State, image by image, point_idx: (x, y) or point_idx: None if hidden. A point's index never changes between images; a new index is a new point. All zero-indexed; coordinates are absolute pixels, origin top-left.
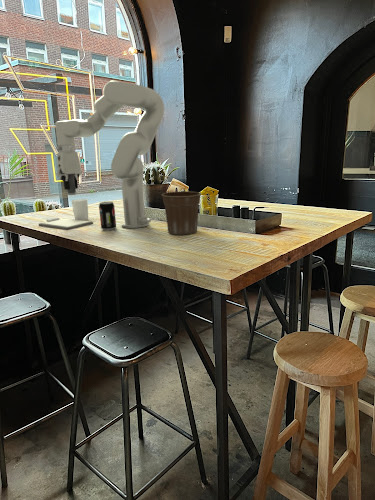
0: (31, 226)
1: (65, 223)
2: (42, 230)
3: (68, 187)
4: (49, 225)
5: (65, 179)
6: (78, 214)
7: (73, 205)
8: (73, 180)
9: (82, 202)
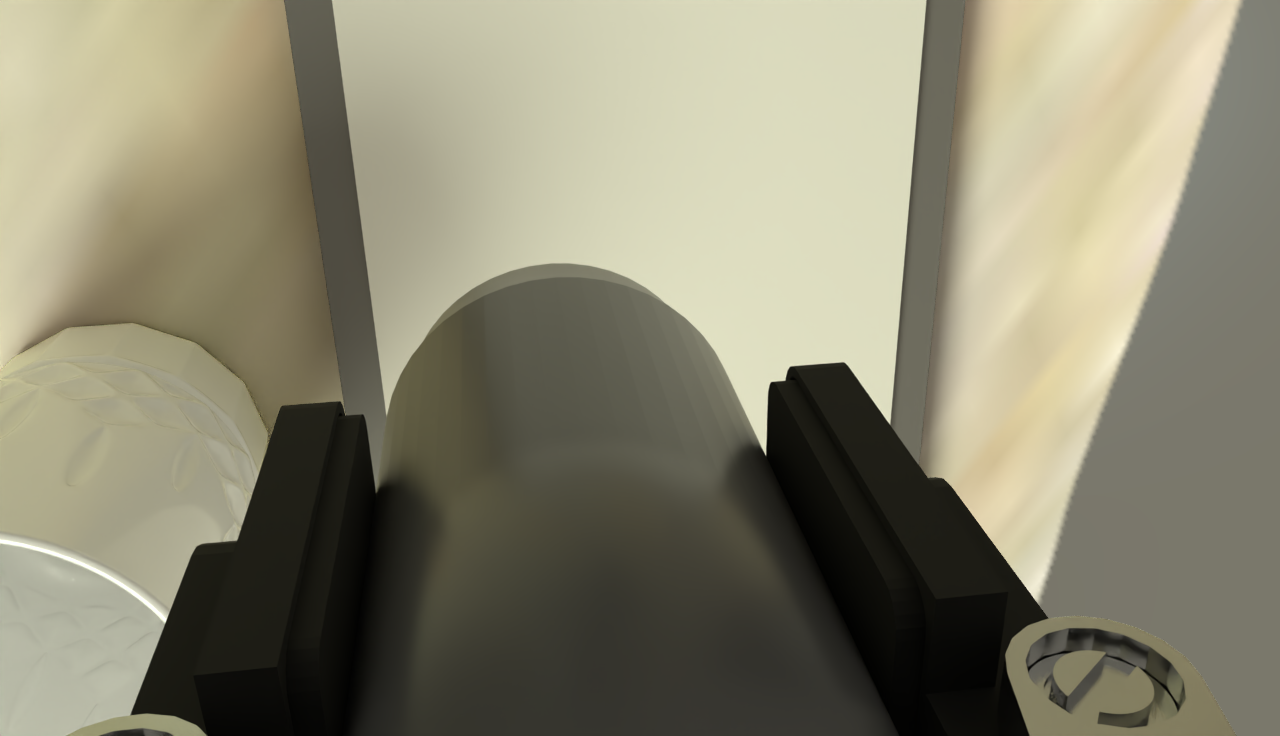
0: None
1: (732, 161)
2: (1149, 195)
3: (867, 410)
4: (930, 333)
5: (1211, 701)
6: (220, 432)
7: None
8: (567, 598)
9: (22, 509)
